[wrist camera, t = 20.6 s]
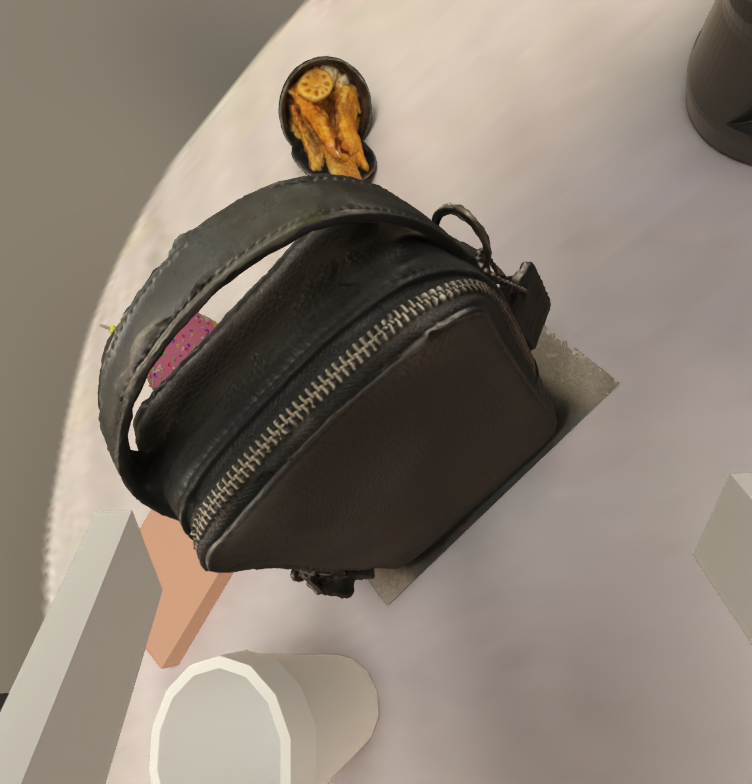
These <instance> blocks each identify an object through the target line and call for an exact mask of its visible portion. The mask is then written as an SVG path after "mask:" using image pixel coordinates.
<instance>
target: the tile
mask: <svg viewBox="0 0 752 784" xmlns="http://www.w3.org/2000/svg"><path fill="white" fill-rule="evenodd" d="M140 532H141V535H142V537H143V540H144V542H145V545H146V548H147V550H148V553H149V556H150V558H151V561H152V563H153V566H154V569H155V571H156V574H157V576H158V579H159V582H160V584H161V587H162V590H163V591H162V594H161V597H160V601H159V604H158V608H157V611H156V614H155V618H154V621H153V624H152V628H151V631H150V635H149V638H148V641H147V645H146V648H145V649H146V650H147V651H148V653H149V654H150V655H151V656H152V658H153V659H154V660H155V661H156V663H157V664H158V665H159V666H160V668H161V669H163V668H168V667H173V666H177V665H179V663H180V661H181V660H182V658H183V656H184V655H185V653H186V651H187V650H188V648H189V646H190V645H191V643H192V641H193V640H194V638H195V636H196V635H197V633H198V631H199V630H200V628H201V626H202V625H203V623H204V621H205V620H206V618H207V616H208V615H209V613H210V611H211V610H212V608H213V606H214V604H215V603H216V601H217V599H218V598H219V596H220V594H221V593H222V591H223V589H224V588H225V586H226V584H227V583H228V581H229V579H230V578H231V576H232V574H233V573H234V572H232V573H215V572H210V571H205V570H204V569H203V568H202V566H201V565H200V562H199V559H198V556H197V554H196V551H195V550H194V549H193V547H194V545H193V540H192V539H190V538H189V537H188V535H186V534H185V532H184V531H183V529H182V526H181V525H180V521H177V520H175V519H172V518H169V517H167V516H162V515H161V514H159V513H157V512H156V511H154V510H151V511H150V513H149V515H148V516H147V518H146V520H145V521H144V523H143V524H142V526H141V528H140Z"/></svg>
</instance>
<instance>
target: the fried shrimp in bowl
mask: <svg viewBox="0 0 752 784" xmlns="http://www.w3.org/2000/svg"><path fill="white" fill-rule="evenodd" d="M279 119H280V123H281V128H282V130H283V134H284V136H285V138H286V140H287V141H288V142H289V143H290V145H291V146H292V153H291V154H292V157H293V159H294V161H295V162H296V164H297V165H298V166H299V168H300V169H302V170H303V171H304V172H305V173H306V174H307V175H308V176H311V175H313V174H319V173H327V174H334V175H344V176H352V177H355V178H358V179H361V180H365V179H366V178H368V177H369V176H370V175H371V174H372V172H373V171H374V169H375V167H376V158H375V155H374V153H373V151H372V150H371V149H370V148H369V146H368V145H367V144H366V143H365V142H364V141H363V140H364V139H365V137H366V135H367V133H368V130H369V127H370V123H371V119H372V105H371V96H370V92H369V89H368V86H367V84H366V82H365V80H364V78H363V77H362V75H361V74H360V73H359V72H358V70H356V69H355V68H354V67H353V66H351V65H350V64H349V63H347V62H345V61H343V60H341V59H339V58H335V57H328V56H323V57H316V58H313V59H310V60H308V61H305V62H303V63H302V64H301V65H299V66H298V67H296V68H295V69H294V70H293V71H292V73H291V74H290V75H289V77H288V78H287V80H286V82H285V84H284V86H283V89H282V92H281V95H280V100H279Z"/></svg>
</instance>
